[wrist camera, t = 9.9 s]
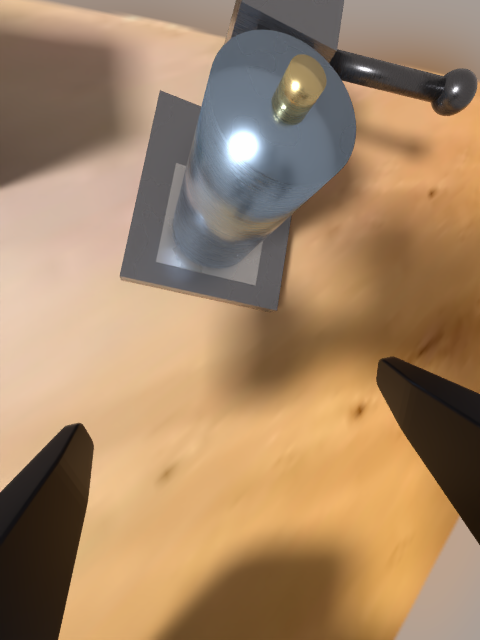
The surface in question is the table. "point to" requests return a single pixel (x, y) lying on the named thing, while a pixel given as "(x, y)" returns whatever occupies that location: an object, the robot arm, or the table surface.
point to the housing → (260, 144)
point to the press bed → (177, 136)
